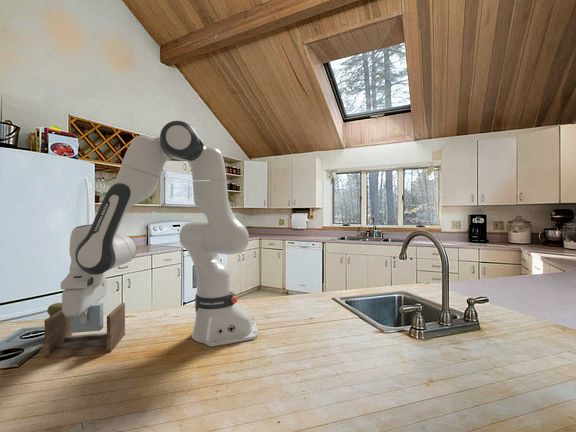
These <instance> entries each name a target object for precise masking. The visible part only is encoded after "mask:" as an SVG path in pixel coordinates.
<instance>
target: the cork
mask: <svg viewBox="0 0 576 432" xmlns="http://www.w3.org/2000/svg"><path fill="white" fill-rule="evenodd" d="M60 310H62V302H57V303H55V302H54V303H52V304H50V305H48V308H47V310H46V311H47V314H48V315H49V317H51V316H52V315H54V314H55V313H57V312H59V311H60Z"/></svg>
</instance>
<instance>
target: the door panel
mask: <svg viewBox="0 0 576 432" xmlns="http://www.w3.org/2000/svg"><path fill="white" fill-rule="evenodd" d="M87 316H89V321H88V322H87V323H85V324H81V323H80V318H79V316H72V317H71V333H72V334H73V333H74V334H75V333H77V334H78V333H89V332H100V331H101V330H103V329H104V302H97V303H95V304H94V305H92V306H91V307H90V308H88V312H87Z"/></svg>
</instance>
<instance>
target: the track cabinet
mask: <svg viewBox="0 0 576 432" xmlns="http://www.w3.org/2000/svg"><path fill="white" fill-rule="evenodd" d="M125 335H126V303H125V302H121V303H120V304H119V305H118V306H117V307H115V308H114V309H112V311H111V312H110V313H108V314H107V316H106V332H105V333H93V334H77V335H76V334H75V335H73V333H71V317H65V316H64V314H63V310H60V311H59V312H57V313H55V314H54V315H52V316H51V317H50V316H49V317H47V318H45V319H44V359H50V358H51V359H52V358H61V357H73V356H84V355H86V356H87V355H94V354H96V355H97V354H107V353H112V351H113V350H114V349H115V347H117V346H118V344H119V343H120V342H121V341H122V339H123V338H124V337H125Z"/></svg>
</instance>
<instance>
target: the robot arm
mask: <svg viewBox="0 0 576 432" xmlns="http://www.w3.org/2000/svg"><path fill="white" fill-rule="evenodd" d="M168 161H170V162H187V163H188V165H189V166H190V169H191V175H192V177H191V178H192V179H191V180H192V191H193V203H194V205H195V207H196V208H197V209H199V210H200V211H201V212H202V213H203V214H204V216H205V217H206V219H207V220H196V221H191V222H188V223H187V222H186V223H185V224H184V225H183V226H182V227H181V229H180V232H179V242H180V244H181V246H182V247H183V248H184V249H185V250H186V251H187V253H188V254H189V256H190V258H191V260H192V262H193V265H194V269H195V277H196V293H195V298H194V308H195V320H194V324H193V325H194V326H193V330H192V333H191V338H192V339H193V340H194V341H196V342H197V343H201V344H204V345H206V346H208V347H216V346H217V347H218V346H223V345H228V344H229V345H230V344H234V343H240V342H245V341H246V342H247V341H251V340H255V339H256V338H257V337H258V335H259V327H258V325H257V323H256V322H255V321H253V320H252V315H251V314H250V312H249V310H248V309H247V308H245V307H243V306H242V305H240V304H239V303H238V297H237V295H236V293H235V291H231V272H230V269H229V267H228V266H227V265H226V264H224V262H222V260H221V259H220V258H221V257H219V255H225V256H226V255H236V254H241V253H243V252H244V251H245V250H246V249H247V247H248V244H249V241H250V234H249V231H248V230H247V228H246V226H245V225H244V224H242V223H241V222H240V221H239V220H238V219H237V217H236V215H235V214H234V212H233V210H232V208H231V204H230V201H229V200H230V199H229V193H228V191H229V190H228V181H227V178H228V177H227V171H226V170H227V169H226V164H225V160H224V157H223V153H222V152H221V150H220V149H219V148H216V147H213V146H210V145H205V144H204V142H203V140H202V139H201V137H200V136H199V135H198V132H197V131H196V130H195V128H193V126H191V124H189V123H187V122H185V121H182V120H173V121H169V122H168V123H166V124H164V126H163V127H162V129H161V130H160V133H159V136H158V137H154V136H152V135H151V136H150V135H145V134H142V135H137V136H135V137H134V138H133V139H132V140H131V143H130V144H129V145H128V147H127V150H126V152H125V153H124V157H123V159H122V161H121V165H120V168H119V171H118V173H117V176H116V177H115V180H114V182H113V183H112V185H111V186H110V187H109V189H108V190H107V192H106V193H105V195H104V197H103V199H102V202H101V203H100V206H99V208H98V210H97V213H96V215H95V217H94V220H93V222H92V223H91V224H85V225H83V224H82V225H79V226H76V227H75V228H73V229H72V231H71V233H70V237H69V257H70V265H69V272H68V274H67V275H66V276H65V278H64V279H63V280H62V281H61V282H60V289H61V290H63V291H62V294H61V303H62V310H63V314H64V316H65V317H72V316H79V318H80V323H81V324H85V323H87V322H88V321H89V316H87V312H88V308H90V307H91V306H92V305H94V304H95V303H99V301H101V300H102V299H104V298H105V297H106V296H107V293H108V287H107V278H106V276H105V272H107V271H109V270H111V269H114V268H117V267H120V266H122V265H123V266H124V265H125V264H127V263H130V262H131V261H132V260H133V259H134V258H135V256H136V254H137V245H136V243H135V241H134V240H133V238H131V236H128V235H125V234H124V235H123V234H121V233H118V231H119V229H120V227H121V226H120V225H121V224H122V221H123V219H124V217H125V215H126V213H127V212H128V211H129V210H130V209H131V208H132V207H133V206H136V204H138V203H140V202H142V201H145V200H146V199H148V198H150V197H151V196H152V195H153V193H154V192H155V190H156V189H157V187H158V184H159V181H160V177H161V174H162V171H163V169H164V166H165V164H166V163H167V162H168Z"/></svg>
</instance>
